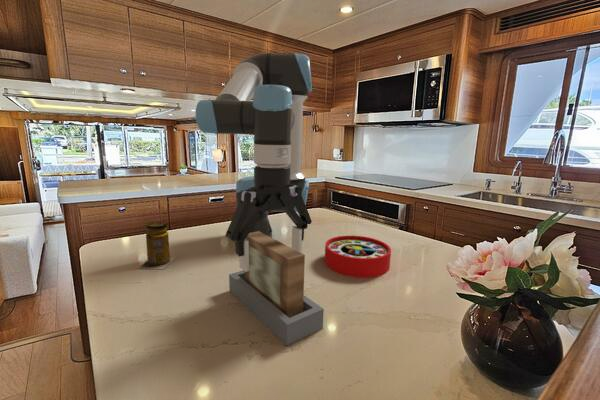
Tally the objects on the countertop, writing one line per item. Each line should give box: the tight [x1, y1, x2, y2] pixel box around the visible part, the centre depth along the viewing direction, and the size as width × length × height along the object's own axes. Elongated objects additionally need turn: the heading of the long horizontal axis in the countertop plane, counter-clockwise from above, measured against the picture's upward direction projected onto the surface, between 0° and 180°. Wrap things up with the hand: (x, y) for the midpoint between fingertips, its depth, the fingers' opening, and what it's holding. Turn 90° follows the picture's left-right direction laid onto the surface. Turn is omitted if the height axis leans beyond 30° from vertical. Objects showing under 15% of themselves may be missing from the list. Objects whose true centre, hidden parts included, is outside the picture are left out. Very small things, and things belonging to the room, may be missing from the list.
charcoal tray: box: [228, 269, 325, 347], centre depth 69 cm, size 25×9×4 cm, turn 38°
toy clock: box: [324, 235, 392, 279], centre depth 94 cm, size 20×6×20 cm
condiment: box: [138, 221, 176, 270], centre depth 90 cm, size 7×8×12 cm
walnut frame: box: [245, 231, 306, 318], centre depth 67 cm, size 18×4×14 cm, turn 38°
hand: (271, 261), depth 67 cm, fingers open, 13 cm apart
